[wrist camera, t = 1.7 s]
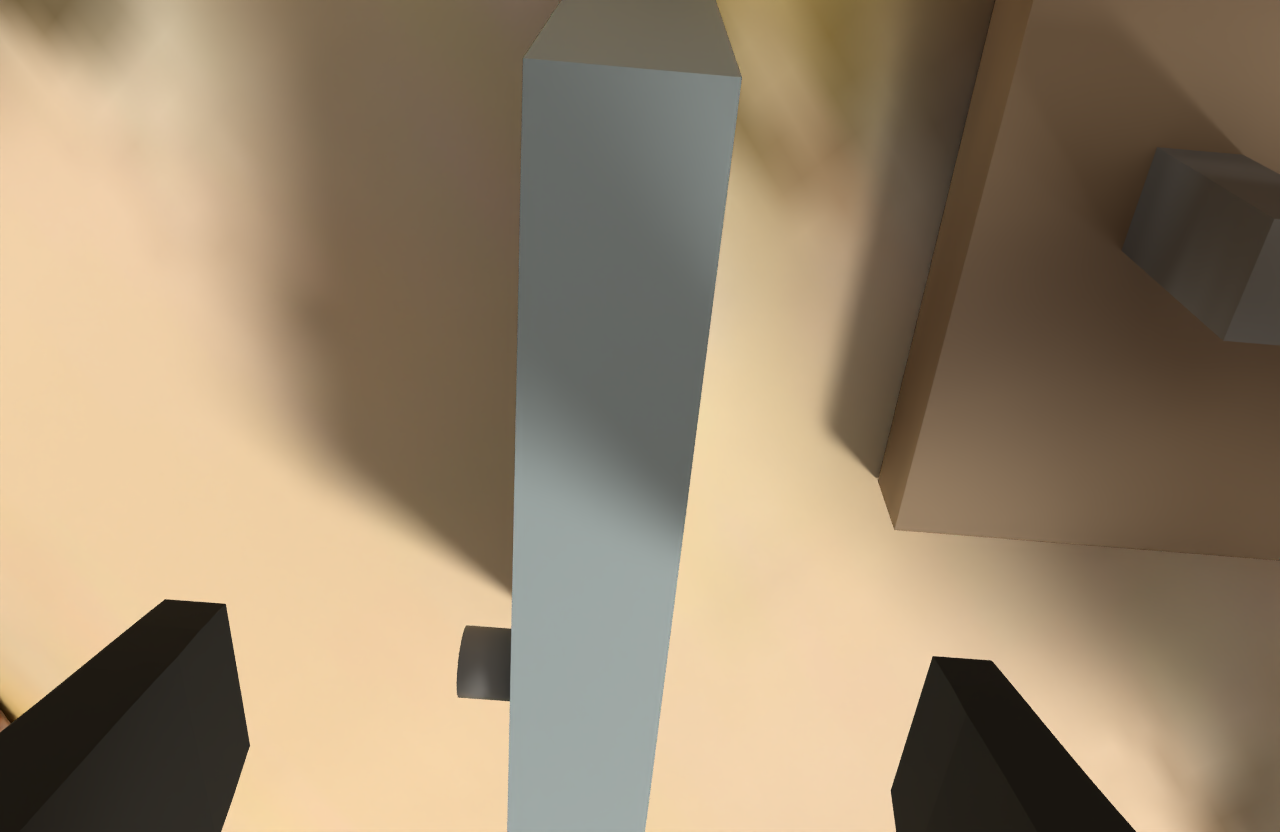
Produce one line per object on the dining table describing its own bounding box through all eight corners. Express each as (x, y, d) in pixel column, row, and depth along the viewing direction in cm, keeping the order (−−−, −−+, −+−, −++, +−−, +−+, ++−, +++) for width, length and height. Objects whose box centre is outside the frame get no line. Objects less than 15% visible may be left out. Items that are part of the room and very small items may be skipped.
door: (643, 622, 20) (638, 890, 15) (507, 611, 20) (453, 877, 15) (713, -8, 14) (741, 77, 9) (518, -26, 14) (434, 50, 9)
